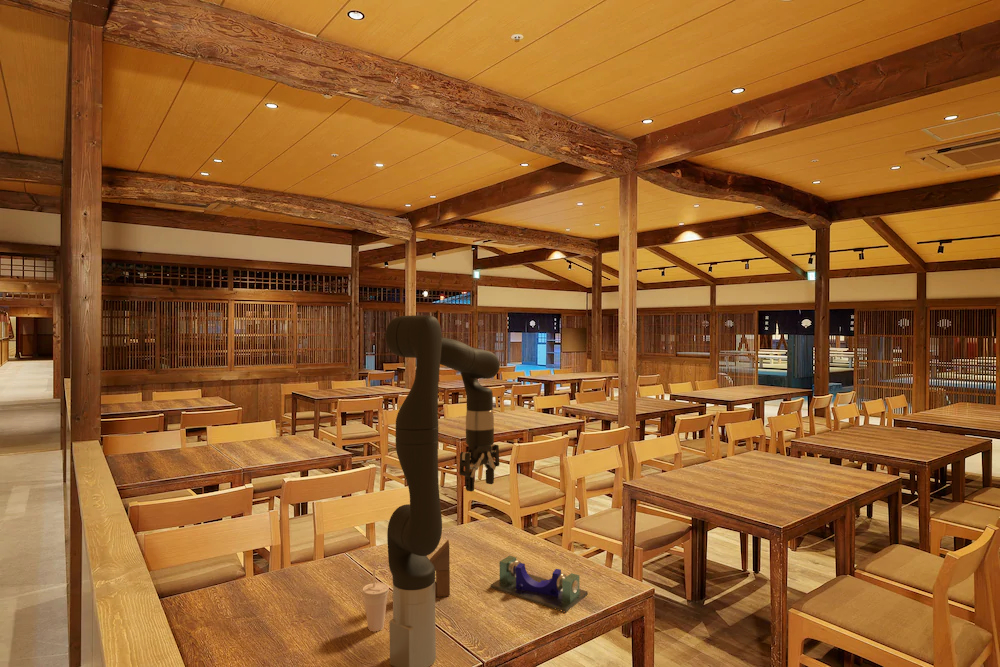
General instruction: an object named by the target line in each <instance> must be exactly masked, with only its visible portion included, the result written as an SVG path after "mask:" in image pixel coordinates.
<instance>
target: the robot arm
mask: <svg viewBox="0 0 1000 667" xmlns="http://www.w3.org/2000/svg"><path fill="white" fill-rule="evenodd" d="M442 335H443V334H442V328H441V324H440V322H439V320H438V318H436V317H435V316H433V315H428V314H427V315H426V314H425V315H424V314H423V315H421V314H420V315H416V314H415V315H401V316H397V317H395V318H393V319H391V320H390V322H388V324H387V326H386V329H385V334H384V336H385V343H386V346H387V348H388V349H389V351H390V352H391V353H392V354H394V355H395V356H397V357H402V358H411V359H412V358H413V359H416V360H415V362H416V363H415V365H416V366H415V375H414V380H413V384H412V386H411V388H410V390H409V392H408V394H407V395H406V397H405V398H404V401H403V402H402V404H401V405H400V407H399V410H398V412H397V414H396V419H395V450H396V455H397V458H398V462H399V464H400V467H401V470H402V473H403V475H404V478H405V480H406V483H407V487H408V493H409V504H408V503H407V504H402V505H400V506H399V507H397V508H395V509H394V511H393V513H392V514H391V516H390V519H389V521H388V525H387V532H386V535H387V536H386V537H387V539H386V540H387V559H388V567H389V571H390V573H391V576H392V619H390V620H389V625H388V626H389V665H390V666H392V667H431V666H432V664H434V663H435V661H436V660H437V659H436V658H437V656H436V655H437V653H436V650H437V648H436V647H437V645H436V644H437V643H436V641H437V639H436V636H437V634H436V630H437V628H436V597H435V581H436V571H435V568H434V565H433V564H432V563H431V561H430V560H429V559H430V558H429V557H428V556H429V555H431V554H432V553H434V552H435V551H436V549H437V548H438V546H439V544H440V541H441V538H442V533H443V519H442V517H443V516H442V509H441V500H440V488H439V487H440V485H439V379H440V369H441V366H444V367H447V368H449V369H452V370H454V371H457V372H459V373H460V375H461V379H462V384H463V387H464V390H465V396H466V412H465V414H466V415H465V444H466V445H467V446H468V450H467V452H463V451H461V452H460V453H459V471H458V472H459V476H464V477H465V491H467V492H474V491H475V474H476V472H477V471H478V470H479V467H480V466H481V467H482V466H483V465H484V467H485V483H486V484H488V485H493V484H494V481H495V470H496V468H497V467H499V466H500V450H499V446H500V445H498V444H494V443H495V427H494V426H495V419H494V406H493V405H494V400H493V398H494V396H493V390H492V389H491V388H489V387H486V386H483V385H481V383H480V381H479V380H478V379H486V380H487V379H493V378H494V377H495V376H496V375H497V374H498V373H499V370H500V366H501V365H500V361H499V358H498V356H497V355H496V354H495V353H494V352H492V351H490V350H485V349H481V348H475V347H472V346H471V345H469V344H467V343H464V342H462V341H459V340H457V339H452V338H449V337H443V336H442ZM494 460H495V461H494Z"/></svg>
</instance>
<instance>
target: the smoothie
mask: <svg viewBox="0 0 1000 667" xmlns="http://www.w3.org/2000/svg"><path fill="white" fill-rule="evenodd" d="M361 592H362V593H361V594H362V597H363V600H364V608H365V615H366V622H367V629H369V630H370V631H369V630H368V631H369V632H371V631H373V632H372V633H377V632H380V631H382V630H383V629H384V627H385V619H386V618H385V617H386V612H387V611H386V609H387V602H388V601H387V600H388V595H389V592H390V587H389V585H388V584H387V583H385V582H380V581H378V582H376V569H375V568H373V569H372V582H371V583H368V584H366V585H364V586H363V587H362V591H361ZM379 630H380V631H379ZM376 631H377V632H376Z"/></svg>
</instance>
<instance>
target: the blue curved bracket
mask: <svg viewBox="0 0 1000 667" xmlns="http://www.w3.org/2000/svg"><path fill="white" fill-rule="evenodd" d="M551 573H552V577H551V578H550V579H548V580H542V581H541V582H537V581H535V580H533V579H532V578H531V577H530V576H529V575H528V574H529V573H528V571H527V569H526V564H525V563H523V562H521V563H519V564H518V565H517V566H516V589H520V590H526V591H531V592H537V593H542V594H548V595H553V596H559V594H560V593H561V591H558V590H557V587H556V582H557V578H558V576H559V575H560V574H561V573H562V569H559V568H555V569H554V571H553V572H551Z"/></svg>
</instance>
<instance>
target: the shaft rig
mask: <svg viewBox="0 0 1000 667" xmlns="http://www.w3.org/2000/svg"><path fill="white" fill-rule="evenodd" d="M519 563H522V562H521V561H520V560H517V557H515V556H511V555H508V556H506V557H505V558H503V559H501V560H499V579H497V580H495V581H494V582H492V583H491V584H490V588H491V589H493V590H496V591H500V592H504V593H506V594H509V595H512V596H515V597H518V598H520V599H523V600H527V601H530V602H533V603H536V604H539V605H542V606H545V607H548V608H551V609H554V608H556V609H555V610H557V609H559V610H558V611H560V610H562V611H561V612H563V611H565V612H564V613H567V612H569V611H570V610H571V609H572V608H574V607H575V605H577V604H579V602H581V601H582V600H583V599H584V598H585V597H586V596H587V595H588V592H589V591H587V590H584V589H580V575H579V574H576V573H573V572H571V573H570V574H568V575H567V574H565V573H562V572H561V574H560V575H559V576H558V578H557V582H556V587H557V590H558V591H561V593H560V594H559V596H553V595H548V594H542V593H537V592H531V591H526V590H520V589H516V566H517V565H518V564H519ZM528 575H529V576H530V577H531V578H532V579H533V580H535V581H537V582H541V581H542V580H549V579H547V578H545V577H541V576H537V575H533V574H530V573H528ZM570 608H571V609H570ZM569 609H570V610H569ZM566 611H567V612H566Z"/></svg>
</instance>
